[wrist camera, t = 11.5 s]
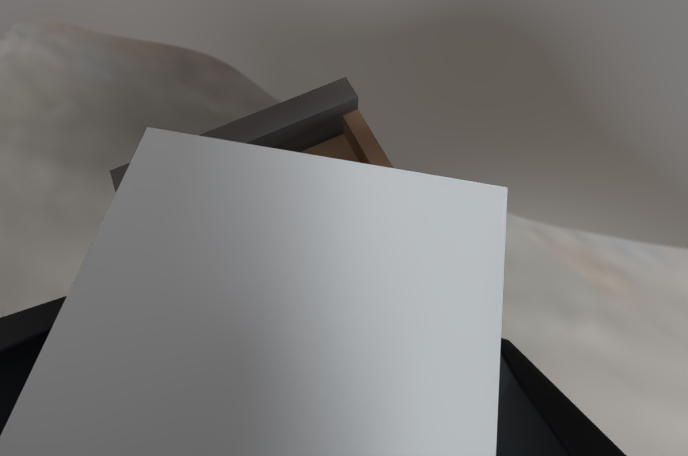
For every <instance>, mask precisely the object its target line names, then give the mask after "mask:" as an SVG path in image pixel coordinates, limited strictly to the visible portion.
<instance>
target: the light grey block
mask: <svg viewBox="0 0 688 456" xmlns="http://www.w3.org/2000/svg"><path fill="white" fill-rule="evenodd" d="M506 210H507V187H501V186H494V185H489V184H483V183H477V182H471V181H466V180H460V179H453V178H448V177H442V176H436V175H430V174H424V173H418V172H412V171H406V170H400V169H394V168H388V167H382V166H376V165H370V164H365V163H359V162H353V161H347V160H341V159H335V158H329V157H323V156H317V155H311V154H305V153H299V152H293V151H287V150H281V149H275V148H269V147H264V146H258V145H252V144H246V143H240V142H234V141H228V140H222V139H216V138H210V137H204V136H198V135H192V134H186V133H180V132H174V131H168V130H162V129H157V128H151V127H147V129H146V131H145V133H144V135H143V137H142V139H141V141H140V143H139V145H138V148H137V150H136V152H135V154H134V156H133V158H132V160H131V162H130V164H129V166H128V169H127V171H126V173H125V175H124V177H123V179H122V181H121V183H120V185H119V187H118V190H117V192H116V194H115V196H114V198H113V200H112V202H111V204H110V206H109V209H108V211H107V213H106V215H105V217H104V219H103V221H102V223H101V225H100V227H99V230H98V232H97V234H96V236H95V238H94V240H93V242H92V244H91V246H90V249H89V251H88V253H87V255H86V257H85V259H84V261H83V263H82V265H81V267H80V270H79V272H78V274H77V276H76V278H75V280H74V282H73V284H72V286H71V288H70V291H69V293H68V295H67V297H66V299H65V301H64V303H63V305H62V307H61V310H60V312H59V314H58V316H57V318H56V320H55V322H54V324H53V326H52V328H51V331H50V333H49V335H48V337H47V339H46V341H45V343H44V345H43V347H42V350H41V352H40V354H39V356H38V358H37V360H36V362H35V364H34V366H33V368H32V371H31V373H30V375H29V377H28V379H27V381H26V383H25V385H24V387H23V389H22V392H21V394H20V396H19V398H18V400H17V402H16V404H15V406H14V408H13V411H12V413H11V415H10V417H9V419H8V421H7V423H6V425H5V427H4V429H3V432H2V434H1V436H0V456H496V442H497V419H498V396H499V373H500V349H501V326H502V303H503V280H504V256H505V233H506Z"/></svg>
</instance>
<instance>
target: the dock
mask: <svg viewBox="0 0 688 456" xmlns="http://www.w3.org/2000/svg"><path fill="white" fill-rule="evenodd" d="M199 136H204V137H210V138H216V139H222V140H228V141H234V142H240V143H246V144H252V145H258V146H264V147H269V148H275V149H281V150H287V151H293V152H299V153H305V154H311V155H317V156H323V157H329V158H335V159H341V160H347V161H353V162H359V163H365V164H370V165H376V166H382V167H388V168H393V167H392V165H391V163H390V162H389V160H388V158H387V157H386V155H385V153H384V152H383V150H382V148H381V147H380V145H379V143H378V142H377V140H376V139H375V137H374V135H373V134H372V132H371V130H370V129H369V127H368V125H367V124H366V122H365V120H364V119H363V117H362V115H361V114H360V112H359V110H358V96H357V94H356V93H355V91H354V90H353V88H352V86H351V85H350V83H349V82H348V80H347V78H346V77H345V78H342V79H340V80H337V81H335V82H332V83H330V84H328V85H325V86H322V87H320V88H317V89H315V90H312V91H310V92H308V93H305V94H302V95H300V96H297V97H295V98H292V99H289V100H287V101H284V102H282V103H279V104H277V105H274V106H272V107H269V108H267V109H264V110H262V111H259V112H257V113H254V114H252V115H249V116H247V117H244V118H242V119H239V120H237V121H234V122H232V123H229V124H227V125H224V126H222V127H219V128H216V129H214V130H211V131H209V132H206V133H204V134H201V135H199ZM129 164H130V163H128V164H126V165H123V166H121V167H118V168H116V169H113V170H111V171H110V173H111V176H112V180H113V184H114V188H115V192H117V190H118V187H119V185H120V183H121V181H122V179H123V177H124V175H125V173H126V171H127V169H128V166H129Z"/></svg>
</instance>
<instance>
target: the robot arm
mask: <svg viewBox="0 0 688 456" xmlns="http://www.w3.org/2000/svg"><path fill="white" fill-rule="evenodd" d="M66 297H67V296H65V297H62V298H59V299H56V300H53V301H50V302H47V303H44V304H41V305H38V306H35V307H32V308H29V309H26V310H23V311H20V312H17V313H14V314H11V315H8V316H4V317H1V318H0V436H1V434H2V432H3V429H4V427H5V425H6V423H7V421H8V419H9V417H10V415H11V413H12V411H13V408H14V406H15V404H16V402H17V400H18V398H19V396H20V394H21V392H22V389H23V387H24V385H25V383H26V381H27V379H28V377H29V375H30V373H31V371H32V368H33V366H34V364H35V362H36V360H37V358H38V356H39V354H40V352H41V350H42V347H43V345H44V343H45V341H46V339H47V337H48V335H49V333H50V331H51V328H52V326H53V324H54V322H55V320H56V318H57V316H58V314H59V312H60V310H61V307H62V305H63V303H64V301H65V299H66ZM496 456H626V455H625V454H624V453H623V452H622V451H621V450H620V449H619V448H618V447H617V446H616V445H615V444H614V443H613V442H612V441H611V440H610V439H609V438H608V437H607V436H606V435H605V434H604V433H603V432H602V431H601V430H600V429H599V428H598V427H597V426H596V425H595V424H594V423H593V422H592V421H591V420H590V419H589V418H587V417H586V416H585V415H584V414H583V413H582V412H581V411H580V410H579V409H578V408H577V407H576V406H575V405H574V404H573V403H572V402H571V401H570V400H569V399H568V398H567V397H566V396H565V395H564V394H563V393H562V392H561V391H560V390H559V389H558V388H557V387H556V386H555V385H554V384H553V383H552V382H551V381H550V380H549V379H548V378H547V377H546V376H545V375H544V374H543V373H542V372H541V371H540V370H539V369H538V368H537V367H536V366H535V365H534V364H533V363H532V362H530V361H529V360H528V359H527V358H526V357H525V356H524V355H523V354H522V353H521V352H520V351H519V350H518V349H517V348H516V347H515V346H514V345H513V344H512V343H511V342H510V341H509V340H507V339H503V338H501V349H500V373H499V396H498V419H497V442H496Z"/></svg>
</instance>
